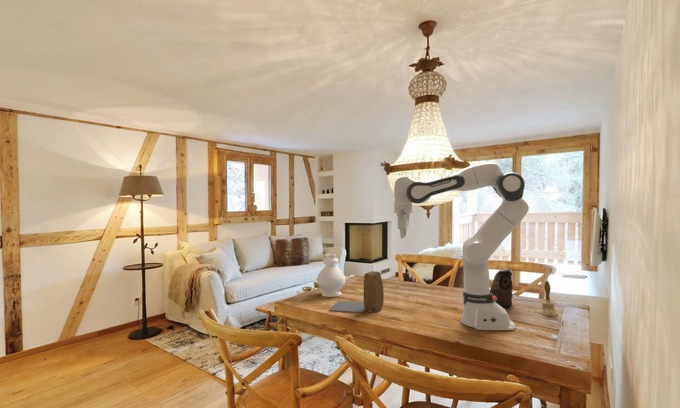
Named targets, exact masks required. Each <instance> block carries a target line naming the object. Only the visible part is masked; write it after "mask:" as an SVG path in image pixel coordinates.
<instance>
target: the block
mask: <svg viewBox="0 0 680 408" xmlns="http://www.w3.org/2000/svg"><path fill="white" fill-rule="evenodd" d="M363 278H364V279H363V302H364V308H365V310H364V311H366V312H369V313H376V312H379V311H381V310H382V309H383V306H384V302H385V301H384V296H385V295H384V293H385V292H384V284H383V283H384V282H383V279H382V273H381V272H380V271H374V270H373V271H368V272H366V273H365V274H364V275H363Z"/></svg>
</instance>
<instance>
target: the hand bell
mask: <svg viewBox="0 0 680 408" xmlns="http://www.w3.org/2000/svg"><path fill="white" fill-rule="evenodd" d="M543 289H544V292H545V301H542V306H541V309H539V311H538V313H539V315H543V316H547V317H557V316H559V313H558V312H557V311H556V309H555V305H554V303H553V302H552V301H551V296H550V292H551V284H550V283H549V280H545V282H544V286H543Z"/></svg>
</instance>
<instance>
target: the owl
mask: <svg viewBox="0 0 680 408" xmlns="http://www.w3.org/2000/svg"><path fill="white" fill-rule="evenodd" d="M512 275H513V273H512V271H511V269H510V267H509V266H508V267H504V268H501V269H499V270H498V271H497V272H496V274H495V275H494V277H493V280H492V283H491V285H490V293H492V294H493V295H494V296H496V298H497V300H496V301H495V302H496V303H497V304H499V305H500V306H501V307H502V308H504V309H505V310H506V309H510V308H511V307H513V301H512V300H513V280H512Z"/></svg>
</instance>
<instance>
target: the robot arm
mask: <svg viewBox="0 0 680 408" xmlns="http://www.w3.org/2000/svg"><path fill="white" fill-rule="evenodd" d="M525 182H526V181H525V179H524V178H523V176H522V175H521V174H519V173H516V172H511V171H510V172H506V173H503V171H502V169H501V168H500V166H499V164H498V163H496V162H490V161H489V162H483V163H482V162H481V163H478V164H475V165H471V166H467V167H465V168H462V169H461V170H459V171H457V172H454V173H453V174H451V175H449V176H447V177H446V176H445V177H443V178H440V179H436V180H433V181H428V182H422V181H417V180H414V179H413V178H411V177H409V176H402V177H400V178H397V179H396V180H395V182H394V186H393V196H394V204H393V205H394V206H393V208H394V211H393V212H394V213H393V214H396V217H397V229H398V230H399V235H400V238H401V239H405V237H407V229H408V227H409V223H410V214H412V213H413V204H422V203H426V202H428V201H429V200H430V199H431V197H432V196H435V195H439V194H443V193H446V192H450V191H459V192H469V191H475V190H478V189H482V188H485V187H492V188H493V190H494V191H495V193H496V194H497V195H498V196H499V197H500V198H501V199H502V202H501V203H500V205H499V207H497V208H496V209H495V210H494V212H493V213H492V214H491V215H490V216H489V217H488V218H487V219H486V220H485V222H484V223H483V224H482V225H481V226H480V228H478V230H477V231H476V233H474V235H473V236H472V237H470V238H467V239H466V240H465V241H464V242H463V245H462V267H463V291H462V303H463V310H462V311H463V312H462V314H461V315H462V316H461V320H460V322H461V324H463V325H464V326H467V327H471V328H473V329H475V330H478V331H514V330H515V329H516V325H515V322H514V321H512V320H511V319H510V316H509V314H508V312H507V310H506V309H504V308H502V307H501V306H500V305H499V304H497V303H496V302H495V301H496V300H497V298H496V296H494V295H493V294H492V293H490V289H491V285H490V268H489V260H490V258H491V257H492V255H493V254H494V253H495V252H496V251H497V249H498V248H499V247H500V246H501V245H502V243H503V242H504V240H506V238H507V237H508V236H509V235H510V234H512V232H513V231H514V230H515V229H516V228H517V227H518V225H520V224H521V222H522V221H523V219H524V218H525V217H526V215H527V214H528V212H529V208H530V207H529V204H528V203H527V201H526V200H524V199H523V195H524V192H525V185H526V183H525Z"/></svg>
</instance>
